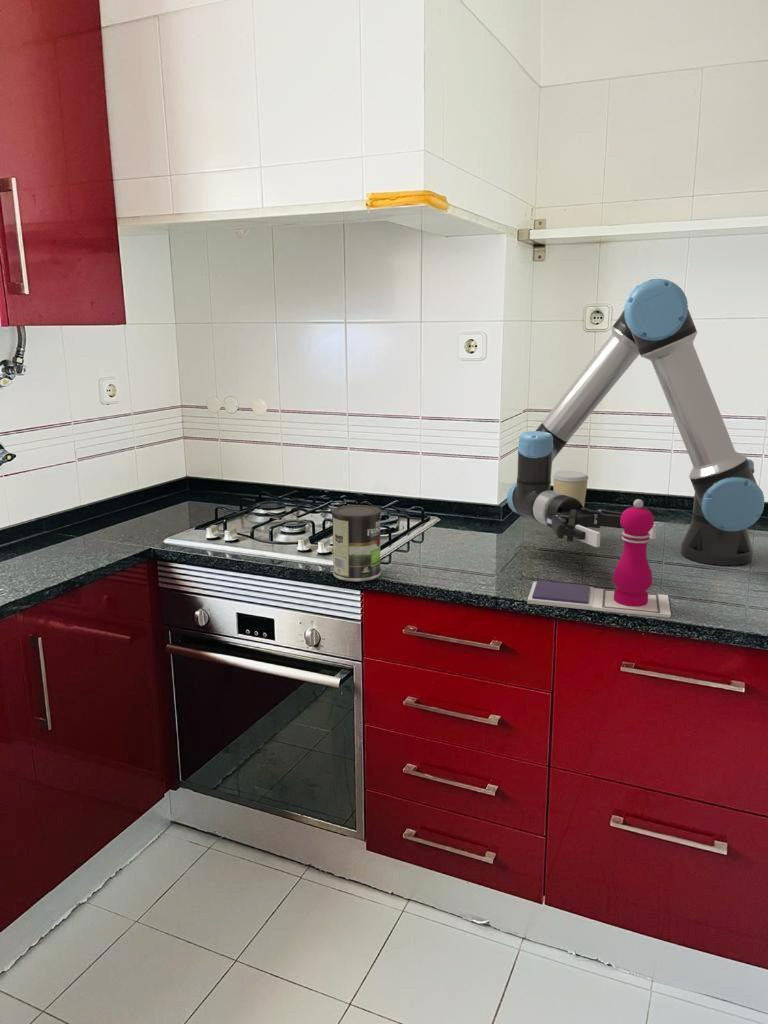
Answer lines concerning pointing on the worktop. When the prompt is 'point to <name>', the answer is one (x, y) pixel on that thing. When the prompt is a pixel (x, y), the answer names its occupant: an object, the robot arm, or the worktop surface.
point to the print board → (654, 607)
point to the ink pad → (561, 595)
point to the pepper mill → (634, 557)
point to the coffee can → (356, 542)
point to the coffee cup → (571, 484)
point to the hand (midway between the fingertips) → (627, 536)
